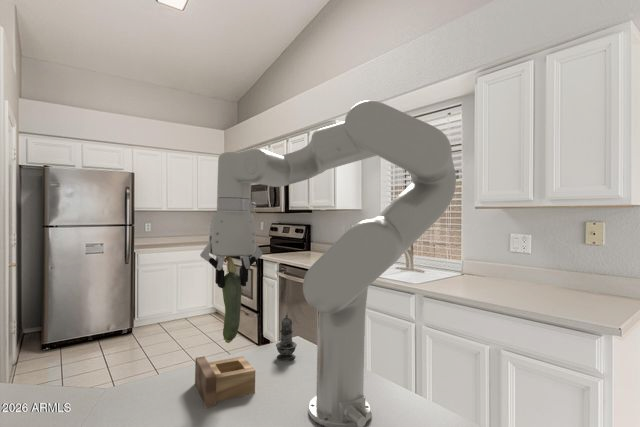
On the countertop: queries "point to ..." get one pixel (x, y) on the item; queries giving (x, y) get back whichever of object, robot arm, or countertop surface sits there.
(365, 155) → the robot arm
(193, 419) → the countertop surface
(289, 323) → the ornate incense burner
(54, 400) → the countertop surface
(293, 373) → the countertop surface
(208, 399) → the wall
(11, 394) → the countertop surface
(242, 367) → the socket block
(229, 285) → the vegetable
